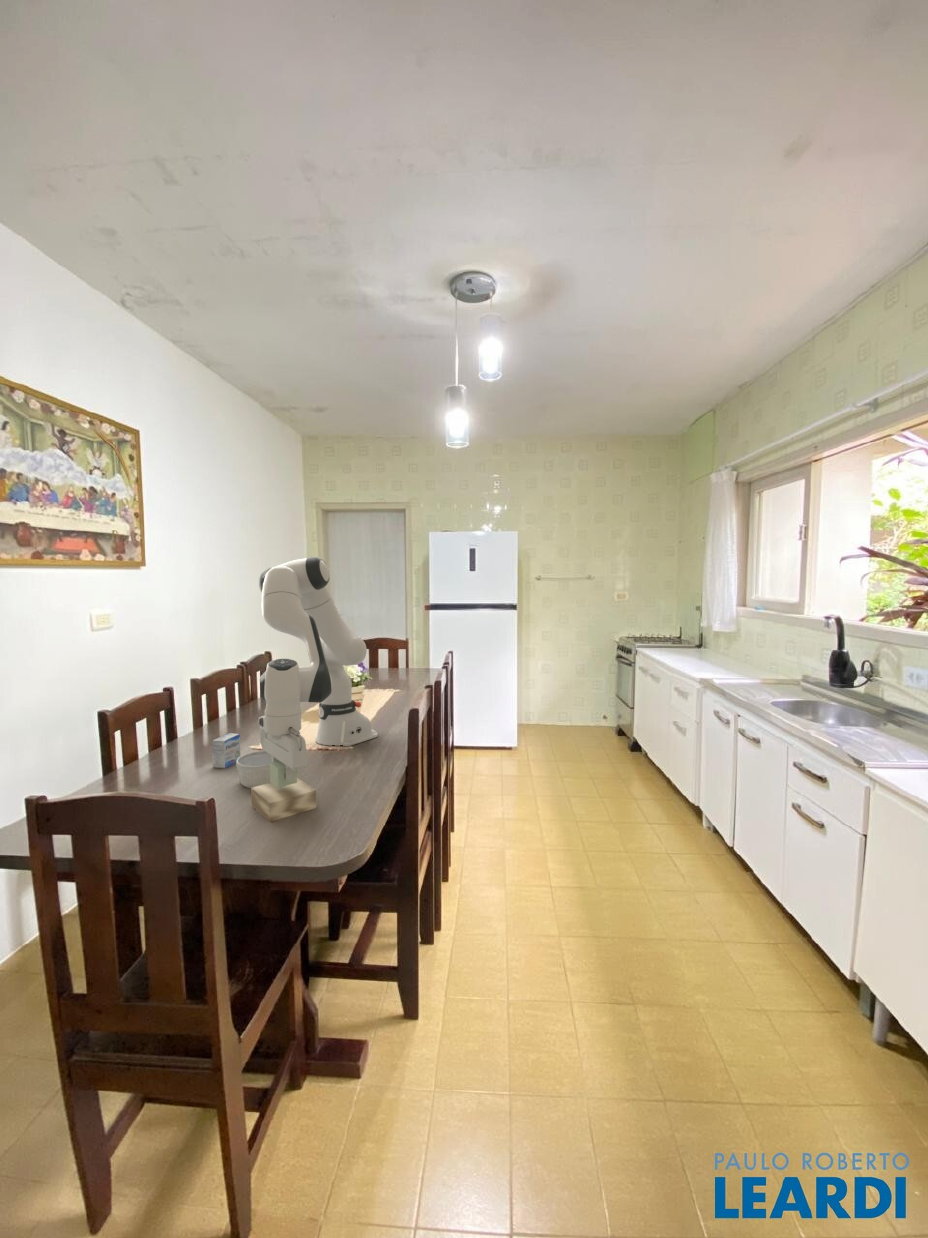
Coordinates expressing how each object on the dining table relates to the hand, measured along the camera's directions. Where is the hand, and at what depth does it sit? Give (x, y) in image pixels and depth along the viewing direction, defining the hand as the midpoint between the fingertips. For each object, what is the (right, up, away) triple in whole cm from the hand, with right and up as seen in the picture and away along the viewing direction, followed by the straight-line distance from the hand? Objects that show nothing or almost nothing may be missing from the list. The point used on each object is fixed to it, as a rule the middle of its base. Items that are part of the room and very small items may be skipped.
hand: (283, 776), depth 133 cm
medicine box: (-28, -5, +29) cm, 41 cm away
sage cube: (0, -2, 0) cm, 2 cm away
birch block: (0, -8, +1) cm, 9 cm away
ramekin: (-12, -7, +17) cm, 22 cm away
